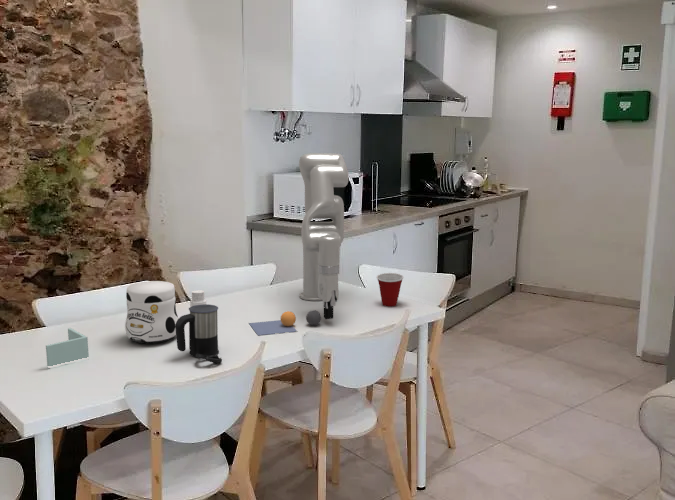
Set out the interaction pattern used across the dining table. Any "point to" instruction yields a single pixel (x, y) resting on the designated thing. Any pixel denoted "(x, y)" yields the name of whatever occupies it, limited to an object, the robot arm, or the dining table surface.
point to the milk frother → (200, 332)
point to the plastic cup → (389, 288)
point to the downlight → (197, 298)
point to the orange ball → (288, 318)
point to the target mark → (271, 327)
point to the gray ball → (313, 317)
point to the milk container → (151, 312)
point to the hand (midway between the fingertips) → (328, 318)
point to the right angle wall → (68, 349)
